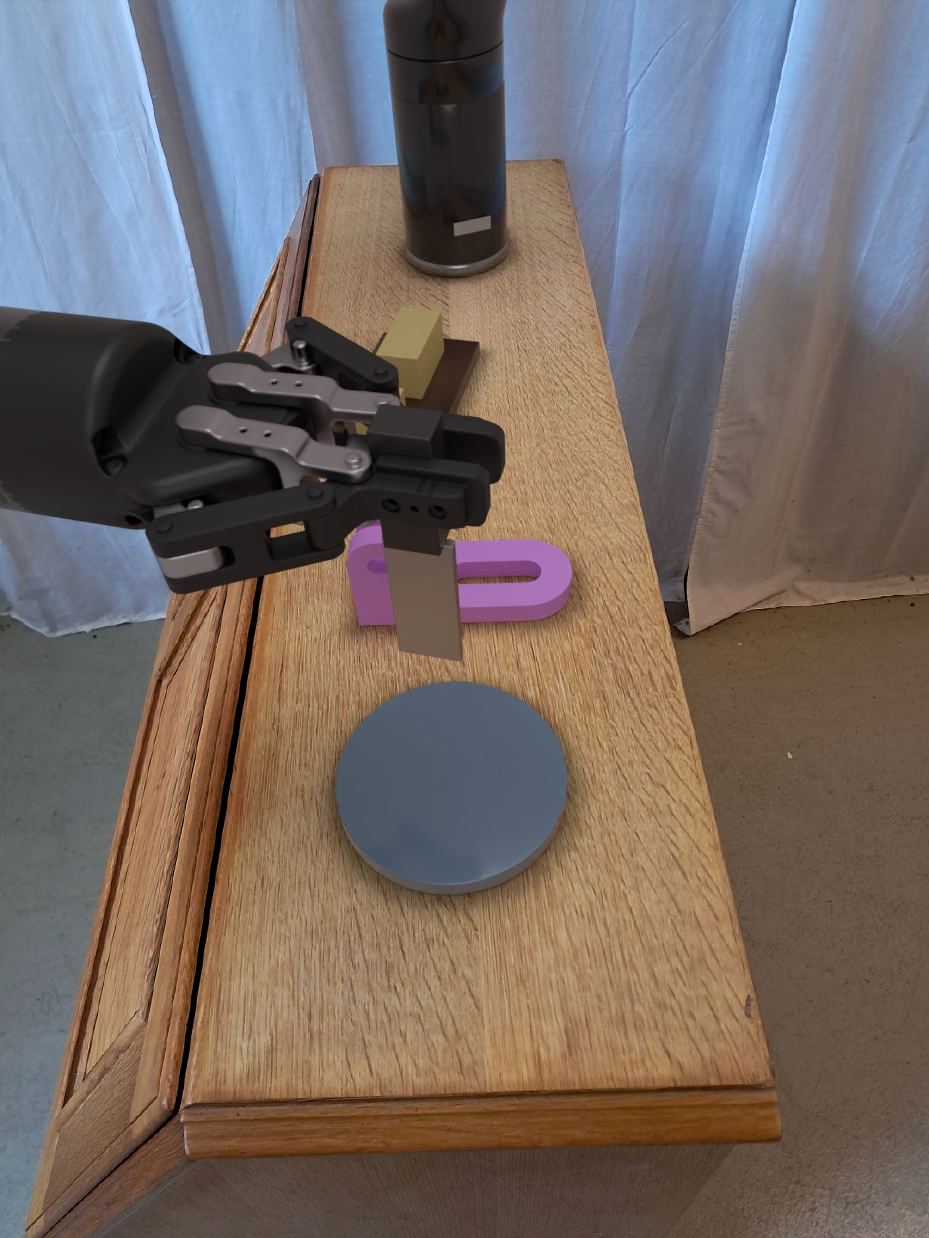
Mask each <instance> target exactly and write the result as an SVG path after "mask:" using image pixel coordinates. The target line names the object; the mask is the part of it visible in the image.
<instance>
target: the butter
mask: <svg viewBox="0 0 929 1238" xmlns="http://www.w3.org/2000/svg"><path fill="white" fill-rule="evenodd" d="M387 332H388V333H387V334H386V336H385V338H384V340H383V342H382V344H381V345H380V347H379V349H378V351H377V353H376V355H377V356H379V357H381V358H382V359H384V360H386V361H387V362H389V363H391V364H393V365H394V366H396V367H397V369H398V376H399V388H404V395H405V398H414V399H422V398H423V396H424V393H425V391H426V389H427V387H428V385H429V383H430V381H431V378H432V376H433V374H434V372H435V370H436V368H437V366H438V363H439V361H440V359H441V357H442V355H443V353H444V339H443V338H444V328H443V315H442V310H435V309H426V308H425V309H423V308H416V307H415V308H414V307H402V306H401V307H400V309H399V310H398V313H397V314H396V316H395V317H394V320H393V322H392V323H391V325H390V327H389V329H388V330H387Z"/></svg>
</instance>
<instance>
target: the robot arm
mask: <svg viewBox="0 0 929 1238" xmlns="http://www.w3.org/2000/svg"><path fill="white" fill-rule="evenodd" d="M507 2H508V0H386V1H385V3H384V6H383V9H382V25H383V35H384V44H385V54H386V61H387V62H386V63H387V64H386V65H387V74H388V83H389V91H390V100H391V109H392V111H391V112H392V119H393V121H392V122H393V130H394V138H395V146H396V147H395V149H396V158H397V168H398V178H399V187H400V196H401V197H400V198H401V207H402V215H403V217H402V219H403V227H404V236H405V238H404V247H405V255H406V259H407V261H408V262H409V263H410V265H412V266H413V267H414V268H416V269H418V270H420V272H424V273H426V274H431V275H435V276H440V277H441V276H442V277H462V276H470V275H475V274H479V273H482V272H484V271H485V272H486V271H487V270H490V269H491V268H493V267H496V266H497V265H499V264H500V263H501V262H502V261H503V260H504V259H505V258H506V256H507V255H508V252H509V235H508V217H507V216H508V215H507V214H508V210H507V208H508V197H507V193H508V191H507V141H506V139H507V137H506V135H507V134H506V85H505V84H506V81H505V38H504V36H505V35H504V34H505V32H504V31H505V30H504V28H505V27H504V26H505V24H504V22H505V21H504V20H505V12H506V6H507ZM285 332H286V336H287V340H288V341H287V342H285V343H283V344H281V345H279V346H278V347H276V348H274V349H272V350H270V351H268V352H266V353H265V354H263V355H260V356H259V355H258V354H257V353H254V352H252V351H251V352H250V351H246V350H245V351H244V350H235V351H229V352H224V353H216V354H215V353H214V354H202V353H200V352H198V351H196V350H195V349H193V348H192V347H191V346H189V345H188V344H186V343H185V342H184V341H182V340H181V339H180V338H178V336H177V335H175V334H174V333H173V332H172V331H170V330H169V329H167V328H165V327H164V326H163V325H159V324H157V323H154V322H149V321H143V320H133V319H126V318H125V319H124V318H115V317H114V318H113V317H106V316H97V315H87V314H78V313H69V312H60V311H59V312H58V311H49V310H48V311H46V310H39V309H30V308H22V307H14V306H5V305H0V509H1V510H7V511H14V512H21V513H26V514H32V515H38V516H43V517H51V518H57V519H64V520H68V521H69V520H70V521H76V522H82V523H87V524H94V525H102V526H106V527H107V526H108V527H114V528H120V529H126V530H132V531H133V530H134V531H142V530H145V533H144V534H145V536H146V539H147V541H148V543H149V546H150V548H151V550H152V552H153V555H154V557H155V560H156V562H157V564H158V567H159V568H160V571H161V573H162V575H163V579H164V580H165V582H166V586H167V587H168V589H169V590H170V591H171V592H172V593H174V594H177V595H188V594H193V593H197V592H200V591H201V592H202V591H206V590H210V589H215V588H218V587H222V586H226V585H230V584H236V583H239V582H244V581H248V580H252V579H256V578H260V577H264V576H270V575H272V574H273V575H274V574H277V573H281V572H282V573H283V572H286V571H289V570H295V569H298V568H302V567H306V566H310V565H315V564H319V563H324V562H327V561H331V560H335V559H337V558H339V557H340V556H341V555H343V554H344V552H345V550H346V541H345V539H346V538H347V537H348V536H349V535H350V534H352V533H353V531H355V530H356V527H364V526H369V525H371V524H373V523H375V522H376V521H377V520H387V521H394V522H401V523H407V524H414V525H419V524H421V525H422V526H428V527H431V526H433V527H434V528H441V529H448V530H450V531H451V530H457V529H465V528H466V527H470V528H471V527H472V528H477V527H481V526H483V525H484V524H485V523H486V521H487V518H488V515H489V512H490V510H491V505H492V501H491V500H492V499H491V498H492V497H491V485H495V484H497V483H499V481H500V480H501V478H502V475H503V473H504V469H505V466H506V433H505V430H504V429H503V427H502V426H500V425H499V424H498V423H496V422H492V421H489V420H487V419H485V418H482V417H480V416H474V415H465V414H464V415H462V414H458V413H457V414H456V413H455V414H453V415H451V414H449V413H443V427H444V440H445V453H446V460H445V459H437V458H424V457H417V456H409V455H402V454H394V453H387V452H381V453H380V455H379V457H378V459H377V461H376V463H372V458H371V456H370V453H369V447H368V440H367V435H362V434H353V433H350V432H349V431H348V430H347V429H346V427H345V423H344V421H345V422H356V423H362V424H363V425H365V426H366V427H369V425H370V423H371V422H372V420H373V418H374V416H375V414H376V412H377V410H378V408H379V406H380V404H389V405H397V406H404V405H403V404H402V403H401V401H400V393H399V376H398V369H397V367H396V366H394V365H393V364H391V363H389V362H387V361H386V360H384V359H382V358H381V357H379V356H377V355H375V354H374V353H373V351H370V350H369V349H367V348H365V347H363V346H362V345H360V344H359V343H356V342H355V341H353V340H351V339H349V338H348V337H346V336H344V335H342V334H341V333H339V332H338V331H335V330H334V329H332V328H331V327H330V326H329V327H328V326H327V325H326V324H323V323H322V322H321V321H319V320H316V319H315V318H314V317H311V316H305V315H301V316H296V317H295V316H294V317H293V318H291V319H289V320H287V321H286V323H285ZM405 407H406V406H405ZM320 479H323V480H324V481H321V480H320ZM288 525H295V526H302V527H303V528H304V529H303V530H300V531H295V532H291V533H287V534H283V535H278V536H268V535H267V533H266V532H268V531H269V530H270V529H271V530H272V529H275V528H279V527H283V526H288Z"/></svg>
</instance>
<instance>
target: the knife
mask: <svg viewBox="0 0 929 1238" xmlns="http://www.w3.org/2000/svg"><path fill="white" fill-rule="evenodd" d="M366 434H367V440H368V447H369V453H370V456H371V458H372V463H376V461H377V459H378V457H379V455H380V453H381V452H387V453H394V454H402V455H409V456H417V457H424V458H437V459H445V460H446V453H445V440H444V427H443V413H442V411H438V410H429V409H421V408H413V407H405V406H397V405H389V404H380V406H379V408H378V410H377V412H376V414H375V416H374V418H373V420H372V422H371V423H370V425H369V427H368V429H367V431H366ZM380 524H381V530H382V536H381V537H382V543H383V549H384V556H385V562H386V568H387V575H388V581H389V587H390V594H391V600H392V606H393V613H394V619H395V625H394V626H395V631H396V637H397V638H396V639H397V644H398V650H399V652H403V653H407V654H413V655H419V656H425V657H430V658H436V659H442V660H447V661H453V662H459V663H461V662H462V661H463V659H464V646H463V645H464V644H463V631H462V623H461V616H460V602H459V588H458V583H459V580H458V574H457V561H456V547H455V541H456V540H455V539H449V538H448V537H449V535H450V532H451V529H450V530H448V529H441V528H434V527H433V526H431V527H428V526H422V525H421V524H419V525H414V524H407V523H401V522H394V521H387V520H380Z"/></svg>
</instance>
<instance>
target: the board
mask: <svg viewBox="0 0 929 1238" xmlns="http://www.w3.org/2000/svg"><path fill="white" fill-rule="evenodd" d="M387 333H388V331H383V333H382V335H381V337H380V339H379V340H378V342H377V344H376V346H375V347H374V349H373V350H372V353H374V354H375V355H376V353H377V351H378V349H379V347H380V345H381V344H382V342H383V340H384V338H385V336H386V334H387ZM443 339H444V353H443V355H442V357H441V359H440V361H439V363H438V366H437V368H436V370H435V372H434V374H433V376H432V378H431V381H430V383H429V385H428V387H427V389H426V391H425V393H424V396H423V398H422V399H414V398H405V403H406V407H413V408H421V409H429V410H438V411H442V413H449V414H451V415H453V414H456V412H457V410H458V407H459V405H460V403H461V400H462V399H463V396H464V393H465V391H466V389H467V386H468V383H469V381H470V379H471V377H472V375H473V371H474V369H475V368H476V365H477V363H478V360H479V358H480V355H481V348H480V345H481V344H480V341H477V340H466V339H455V338H447V337H443ZM344 423H345V427H346V429H347V430H348V431H349V432H350V433H353V434H357V431H356V425H355V422H345V421H344Z"/></svg>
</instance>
